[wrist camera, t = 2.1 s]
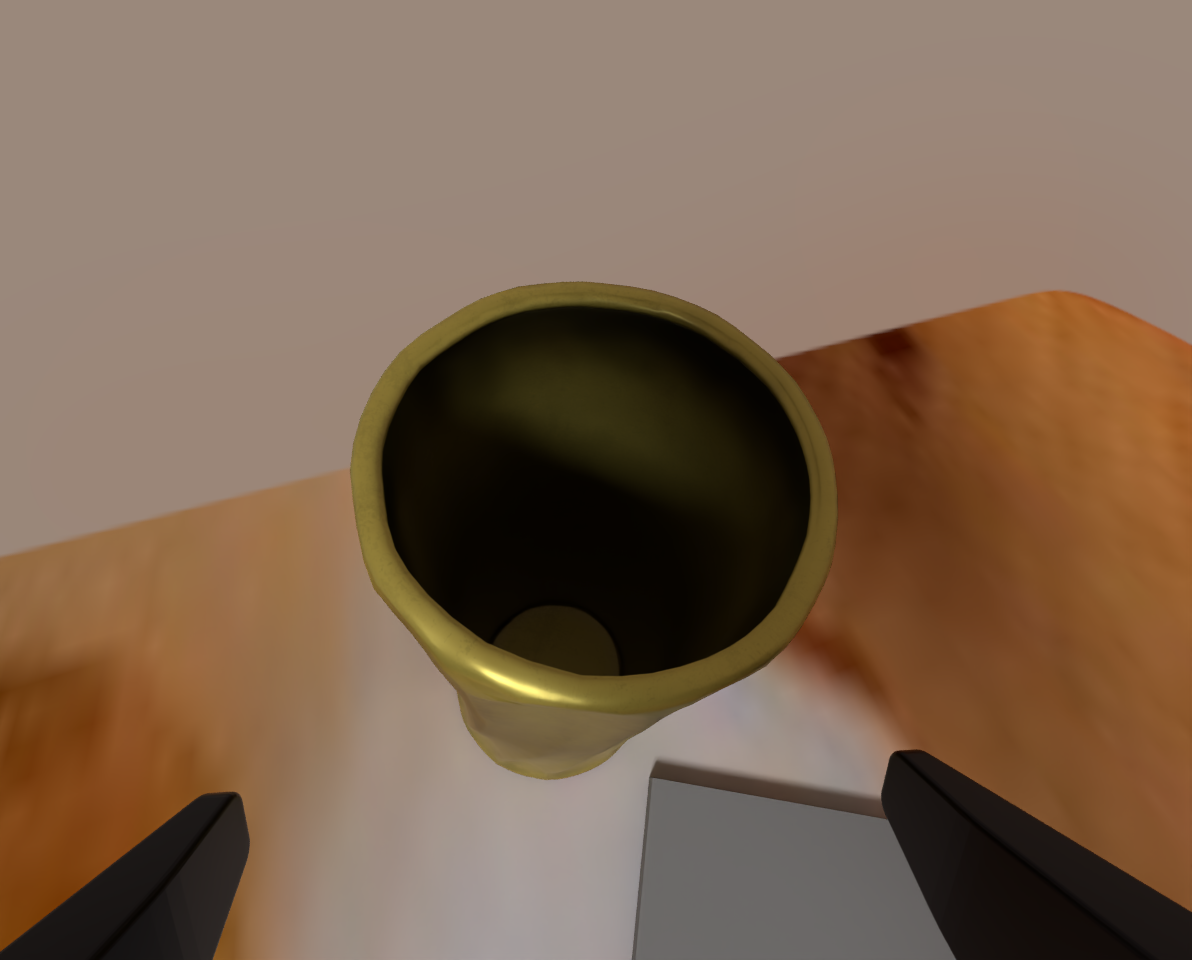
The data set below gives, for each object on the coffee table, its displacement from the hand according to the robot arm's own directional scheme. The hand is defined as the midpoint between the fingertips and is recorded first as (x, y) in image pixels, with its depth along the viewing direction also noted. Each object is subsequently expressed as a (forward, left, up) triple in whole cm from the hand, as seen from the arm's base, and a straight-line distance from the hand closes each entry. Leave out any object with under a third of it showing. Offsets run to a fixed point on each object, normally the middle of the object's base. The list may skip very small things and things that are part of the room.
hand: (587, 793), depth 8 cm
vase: (+3, +1, -11) cm, 11 cm away
